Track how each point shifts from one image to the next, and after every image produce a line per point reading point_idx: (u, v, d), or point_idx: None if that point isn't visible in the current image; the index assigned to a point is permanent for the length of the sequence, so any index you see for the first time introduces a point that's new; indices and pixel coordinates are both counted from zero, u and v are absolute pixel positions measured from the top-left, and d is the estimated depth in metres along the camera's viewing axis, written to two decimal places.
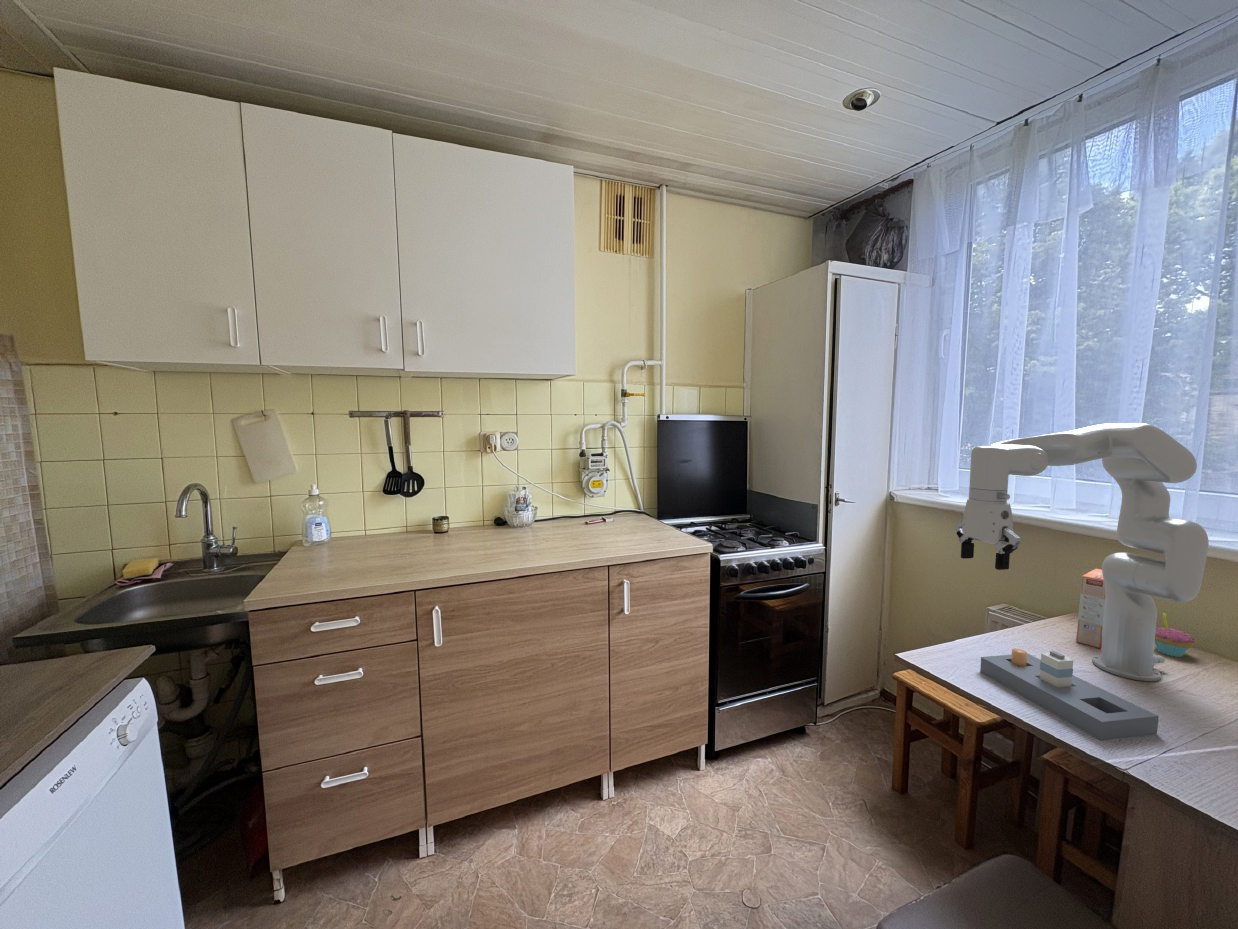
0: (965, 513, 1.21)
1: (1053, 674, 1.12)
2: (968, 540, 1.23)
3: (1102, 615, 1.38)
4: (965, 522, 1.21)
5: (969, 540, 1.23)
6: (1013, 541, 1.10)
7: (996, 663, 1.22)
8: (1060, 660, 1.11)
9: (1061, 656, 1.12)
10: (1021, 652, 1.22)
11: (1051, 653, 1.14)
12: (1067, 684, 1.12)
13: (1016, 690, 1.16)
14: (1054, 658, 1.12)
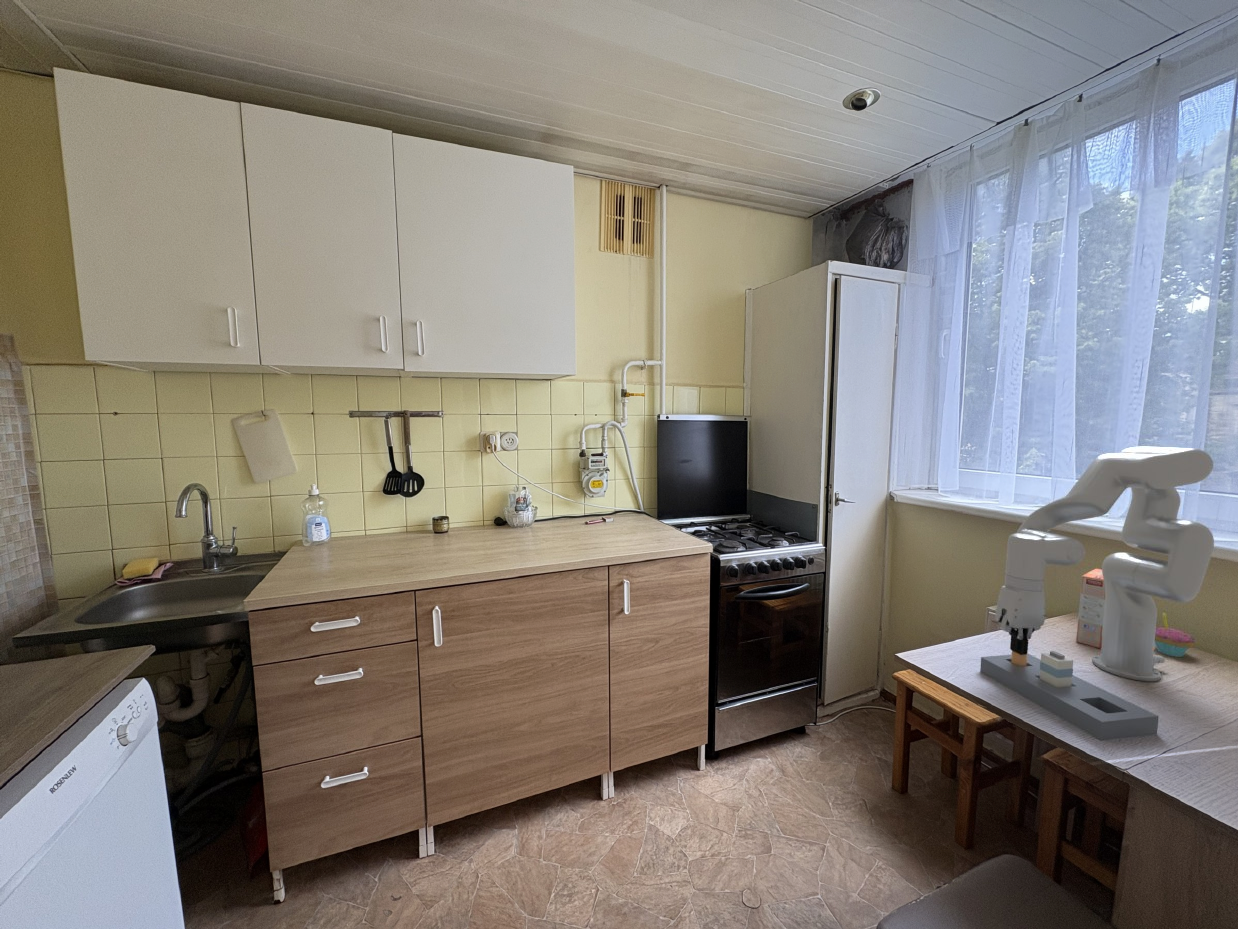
0: (1017, 606, 1.18)
1: (1053, 674, 1.12)
2: None
3: (1102, 615, 1.38)
4: (1017, 614, 1.19)
5: None
6: (1037, 628, 1.22)
7: (996, 663, 1.22)
8: (1060, 660, 1.11)
9: (1061, 656, 1.12)
10: None
11: (1051, 653, 1.14)
12: (1067, 684, 1.12)
13: (1016, 690, 1.16)
14: (1054, 658, 1.12)
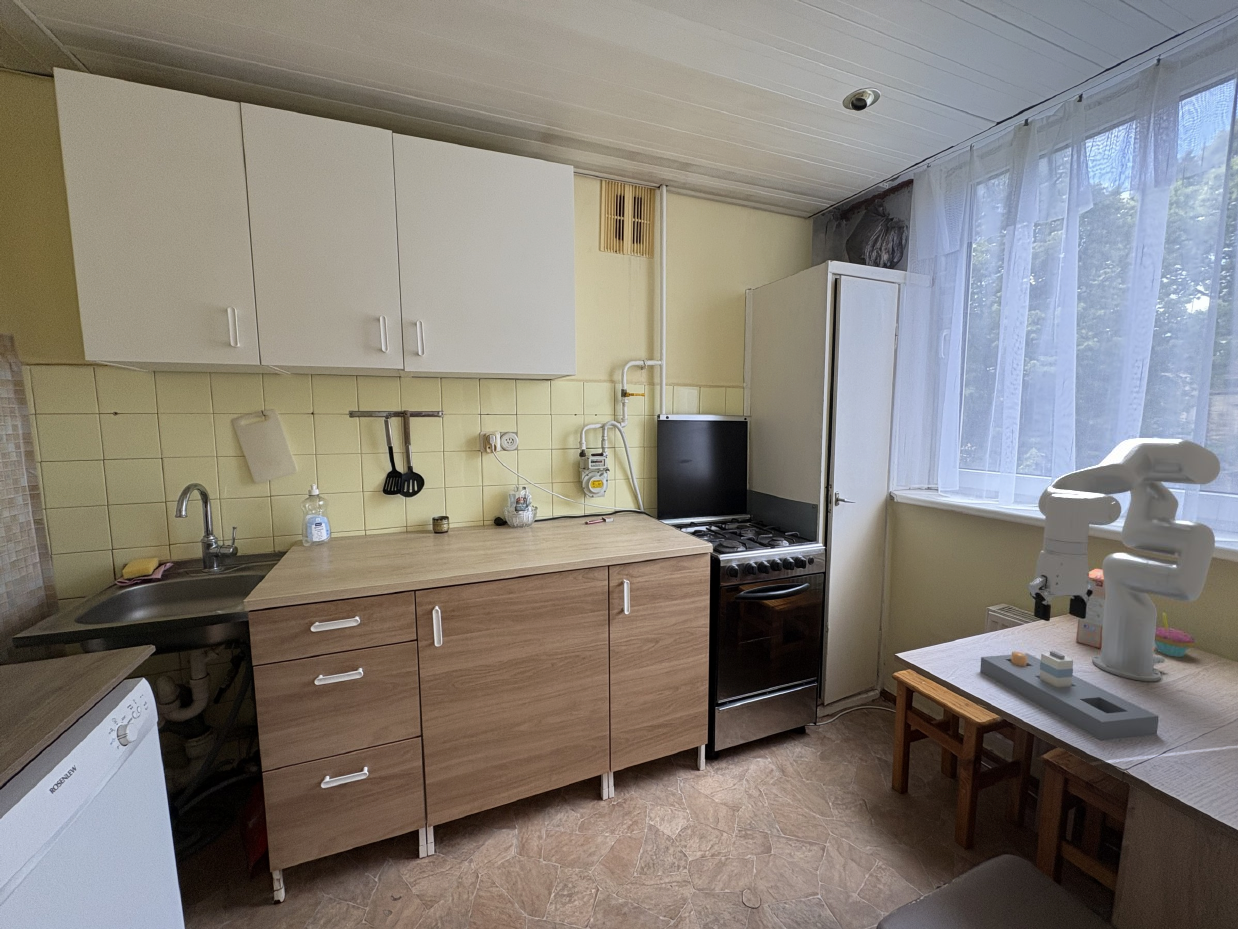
0: (1058, 571, 1.09)
1: (1053, 674, 1.12)
2: None
3: (1102, 615, 1.38)
4: (1058, 581, 1.09)
5: None
6: (1092, 586, 1.12)
7: (996, 663, 1.22)
8: (1060, 660, 1.11)
9: (1061, 656, 1.12)
10: (1021, 655, 1.22)
11: (1051, 653, 1.14)
12: (1067, 684, 1.12)
13: (1016, 690, 1.16)
14: (1054, 658, 1.12)
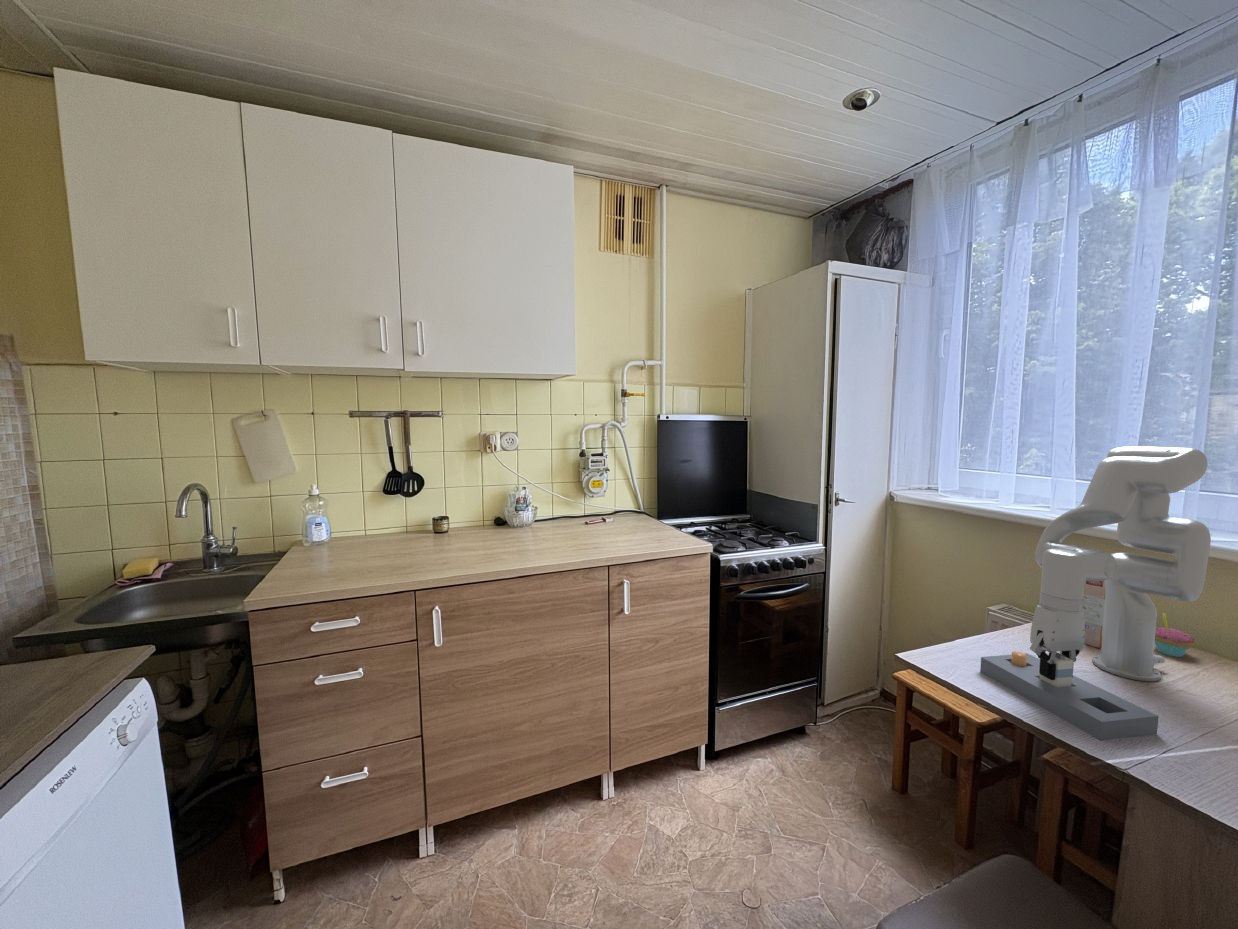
0: (1054, 627, 1.10)
1: None
2: None
3: (1102, 615, 1.38)
4: (1055, 637, 1.10)
5: None
6: (1081, 647, 1.13)
7: (996, 663, 1.22)
8: (1060, 660, 1.11)
9: (1061, 656, 1.12)
10: (1021, 655, 1.22)
11: None
12: (1067, 684, 1.12)
13: (1016, 690, 1.16)
14: None
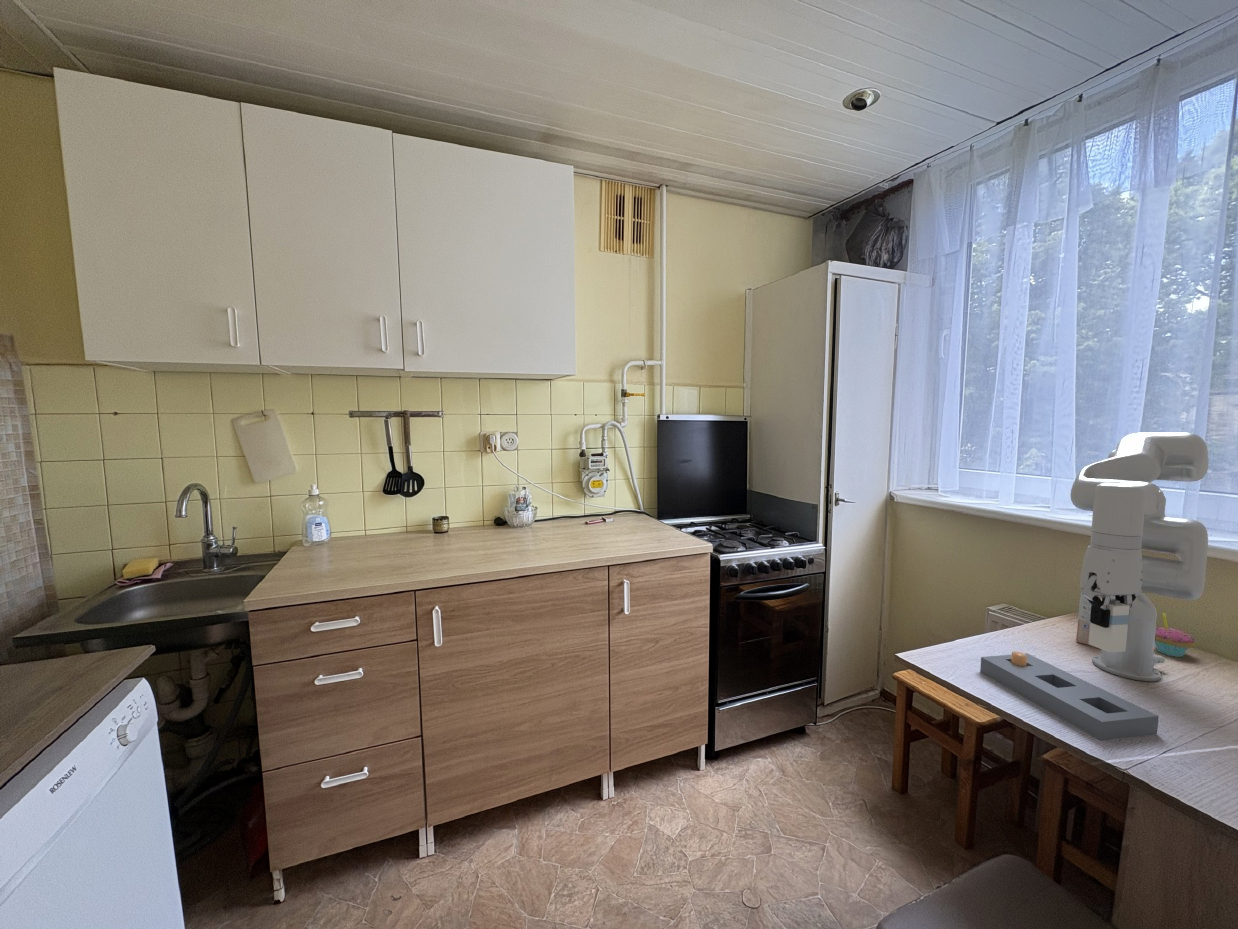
0: (1110, 568, 0.99)
1: None
2: None
3: None
4: (1110, 579, 0.99)
5: None
6: (1138, 592, 1.02)
7: (996, 663, 1.22)
8: (1115, 606, 1.00)
9: (1116, 601, 1.01)
10: (1021, 655, 1.22)
11: None
12: (1122, 632, 1.00)
13: (1016, 690, 1.16)
14: None
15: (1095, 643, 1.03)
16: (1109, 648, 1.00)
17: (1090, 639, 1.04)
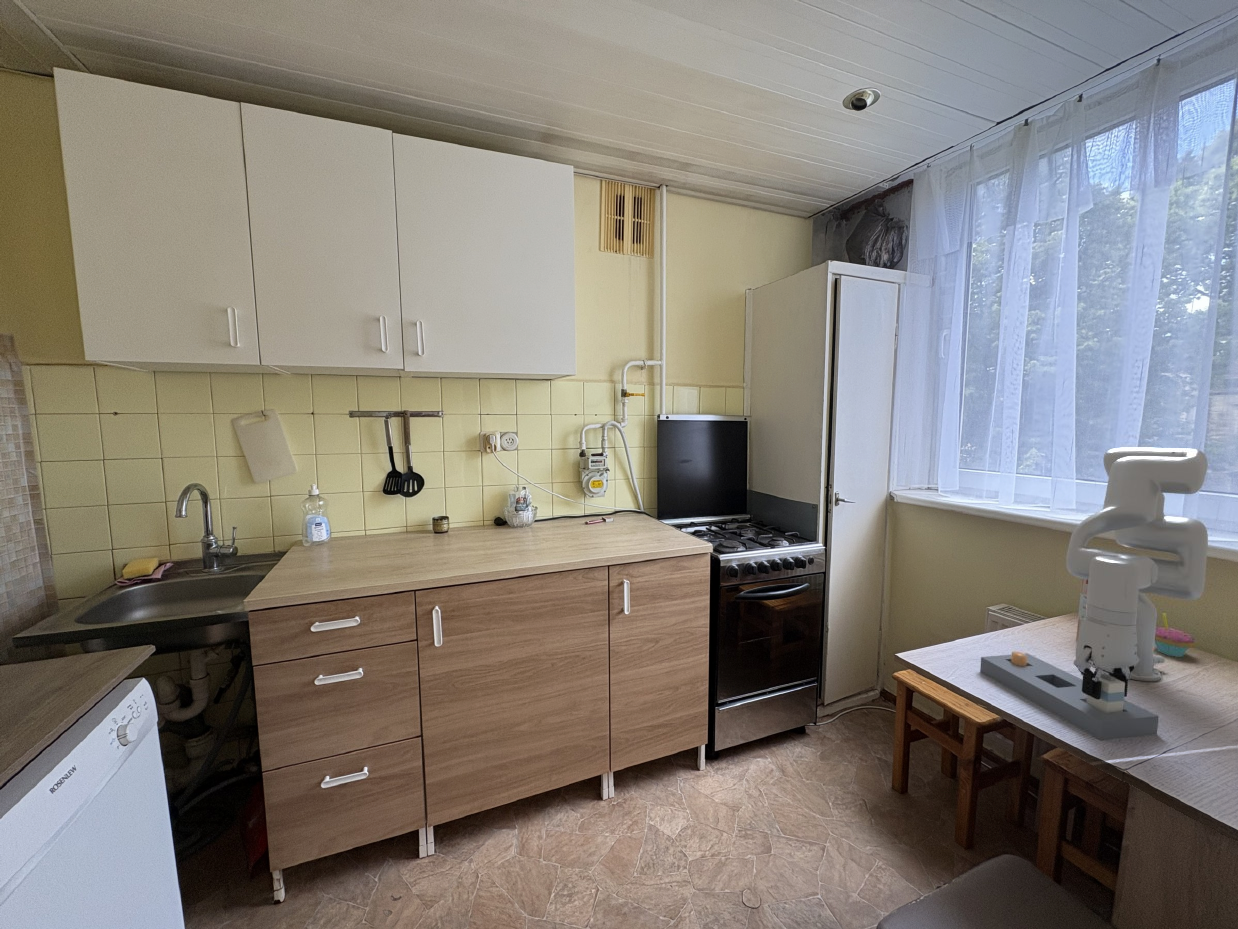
0: (1104, 643, 1.00)
1: (1103, 698, 1.02)
2: None
3: None
4: (1105, 653, 1.00)
5: None
6: (1135, 662, 1.03)
7: (996, 663, 1.22)
8: (1110, 683, 1.01)
9: (1111, 678, 1.02)
10: (1021, 655, 1.22)
11: None
12: (1118, 708, 1.02)
13: (1016, 690, 1.16)
14: (1103, 680, 1.02)
15: None
16: None
17: None
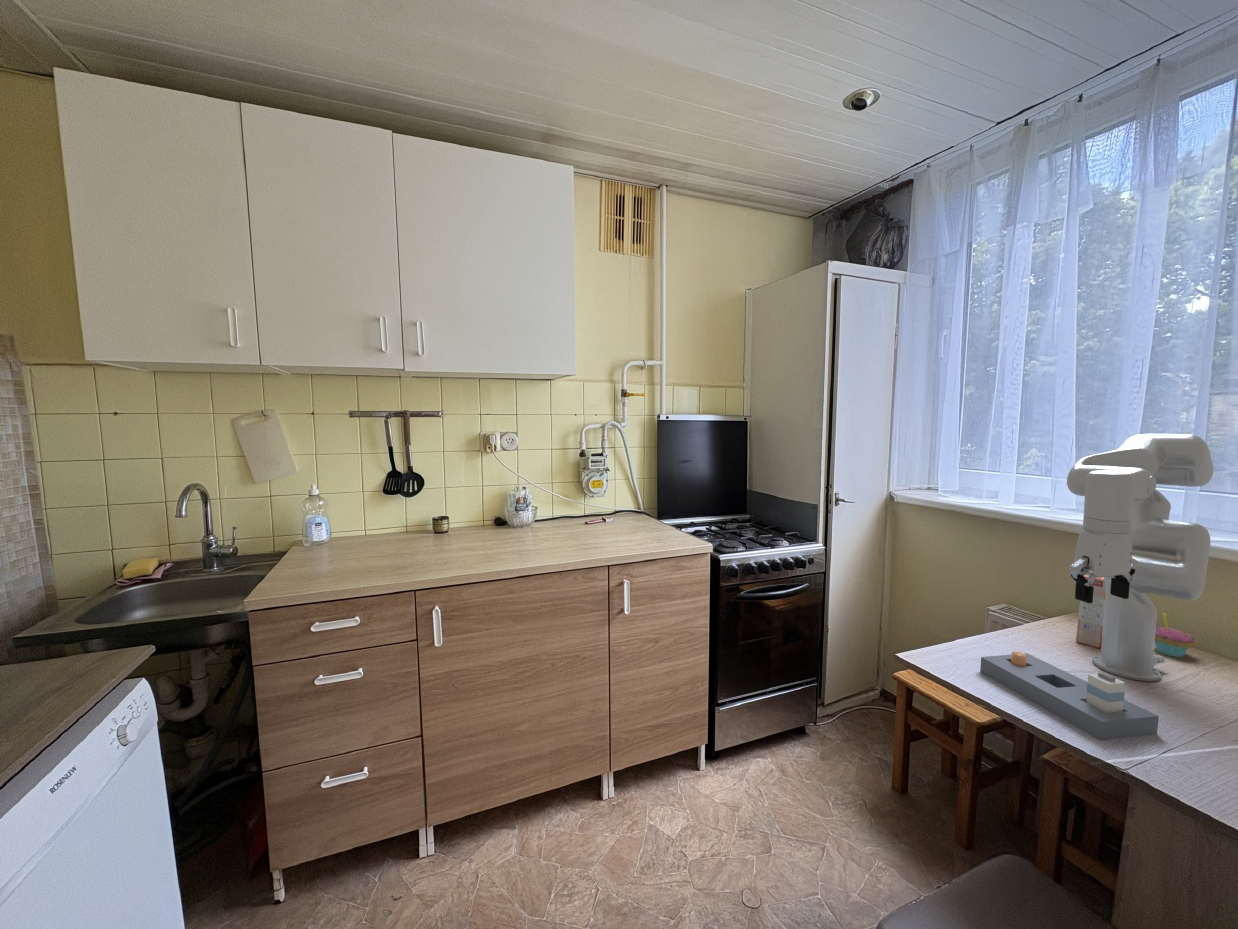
0: (1101, 551, 1.04)
1: (1103, 698, 1.02)
2: None
3: (1102, 615, 1.38)
4: (1102, 561, 1.04)
5: None
6: (1135, 564, 1.08)
7: (996, 663, 1.22)
8: (1110, 683, 1.01)
9: (1111, 678, 1.02)
10: (1021, 655, 1.22)
11: (1100, 674, 1.04)
12: (1118, 708, 1.02)
13: (1016, 690, 1.16)
14: (1103, 680, 1.02)
15: None
16: None
17: None
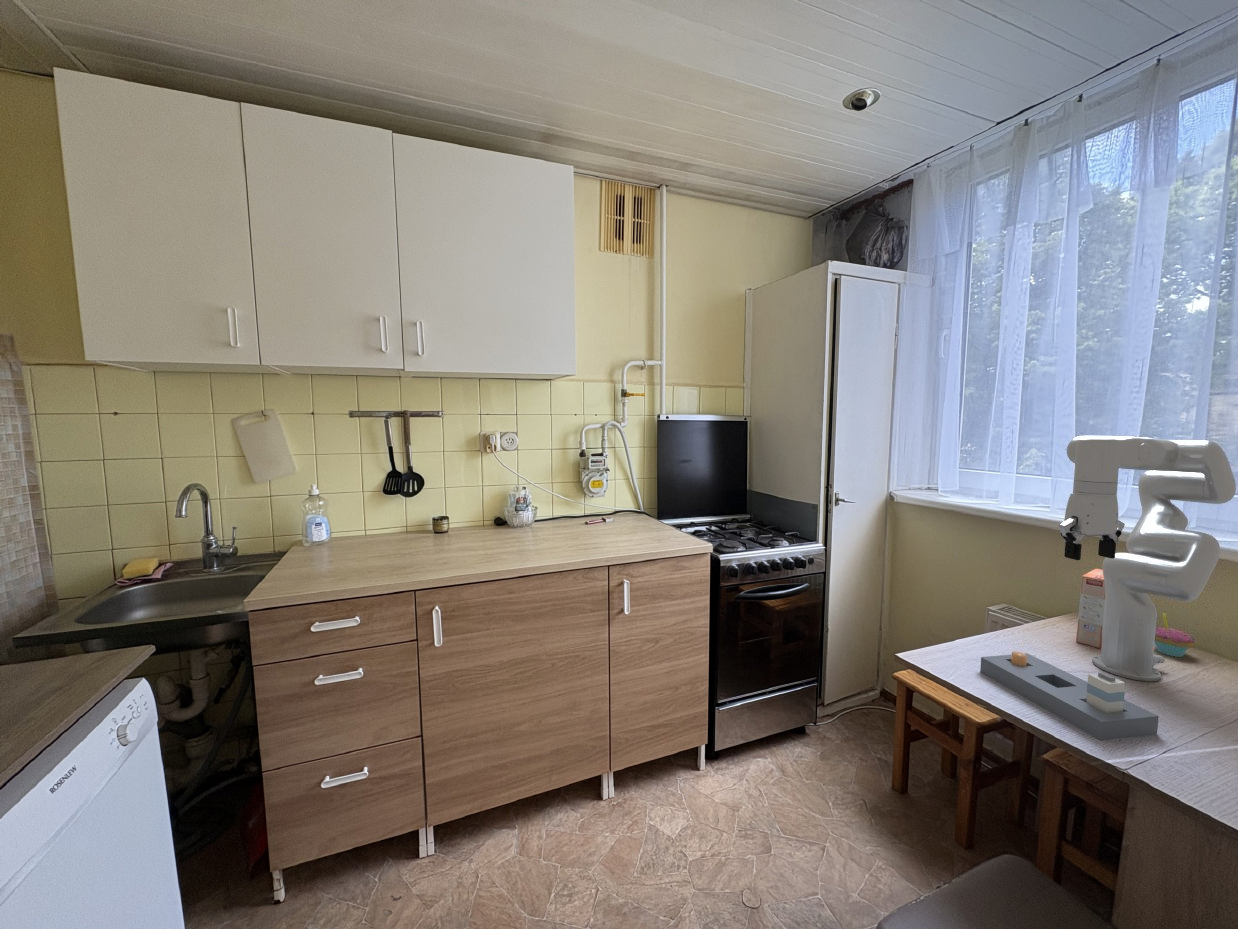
0: (1089, 511, 1.12)
1: (1103, 698, 1.02)
2: None
3: (1102, 615, 1.38)
4: (1089, 520, 1.12)
5: None
6: (1121, 527, 1.16)
7: (996, 663, 1.22)
8: (1110, 683, 1.01)
9: (1111, 678, 1.02)
10: (1021, 655, 1.22)
11: (1100, 674, 1.04)
12: (1118, 708, 1.02)
13: (1016, 690, 1.16)
14: (1103, 680, 1.02)
15: None
16: None
17: None
